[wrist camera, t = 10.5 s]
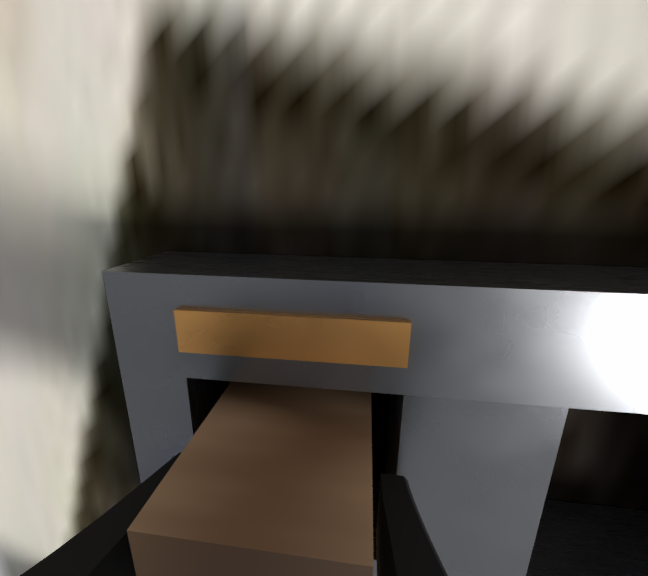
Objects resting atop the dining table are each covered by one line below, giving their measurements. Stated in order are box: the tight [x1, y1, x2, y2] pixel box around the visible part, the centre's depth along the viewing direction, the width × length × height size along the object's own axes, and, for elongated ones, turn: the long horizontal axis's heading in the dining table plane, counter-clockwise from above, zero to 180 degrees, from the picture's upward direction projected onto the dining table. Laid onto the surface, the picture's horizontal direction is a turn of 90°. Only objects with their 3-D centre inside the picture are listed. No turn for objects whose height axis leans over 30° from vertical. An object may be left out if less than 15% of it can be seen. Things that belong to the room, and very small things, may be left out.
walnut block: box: [127, 381, 374, 576], centre depth 10 cm, size 4×4×7 cm
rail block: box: [102, 251, 648, 576], centre depth 11 cm, size 20×12×3 cm, turn 90°
